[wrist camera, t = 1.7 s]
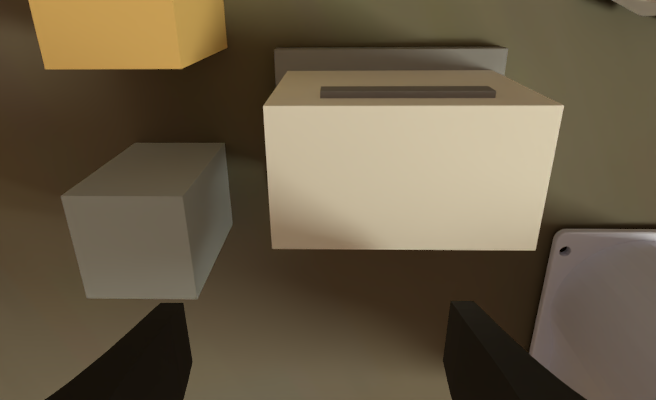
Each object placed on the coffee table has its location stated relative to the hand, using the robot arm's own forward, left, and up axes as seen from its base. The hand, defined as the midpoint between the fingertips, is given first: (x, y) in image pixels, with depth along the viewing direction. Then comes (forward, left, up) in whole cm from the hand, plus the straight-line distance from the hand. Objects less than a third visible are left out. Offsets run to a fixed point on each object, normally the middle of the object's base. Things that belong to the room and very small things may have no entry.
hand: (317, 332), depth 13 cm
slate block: (0, +6, -10) cm, 12 cm away
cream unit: (+3, -3, -10) cm, 10 cm away
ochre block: (+8, +6, -10) cm, 14 cm away
